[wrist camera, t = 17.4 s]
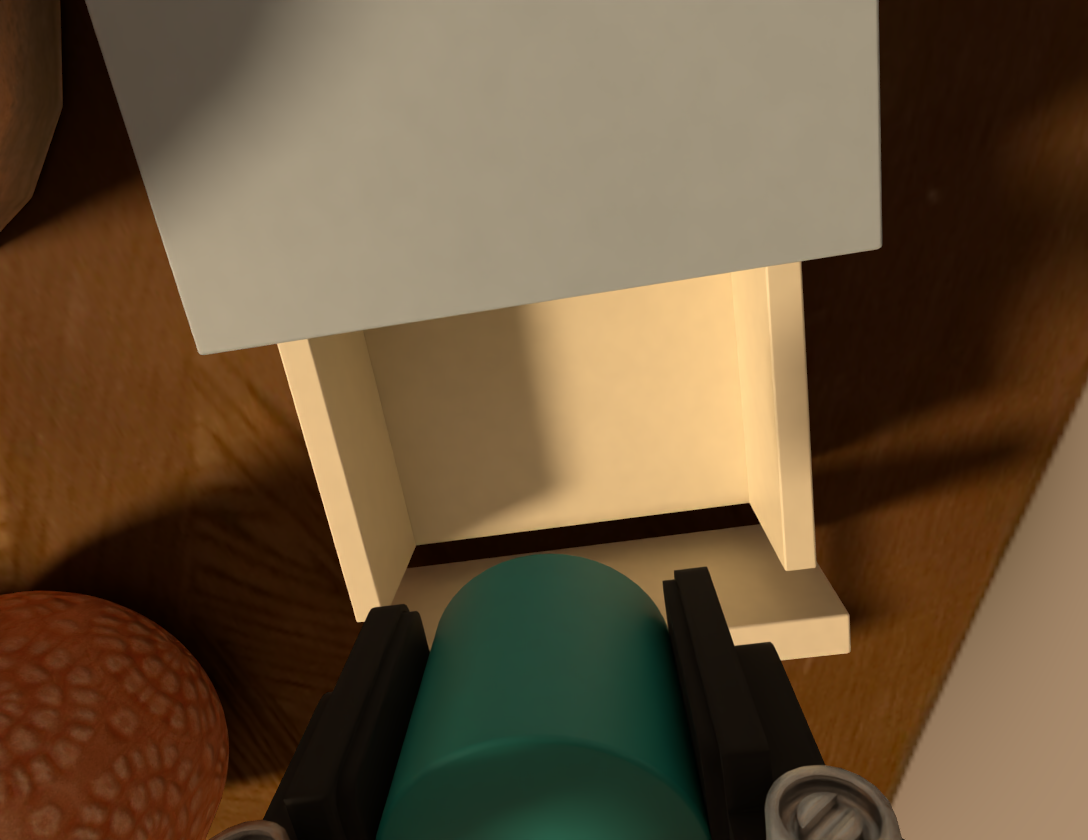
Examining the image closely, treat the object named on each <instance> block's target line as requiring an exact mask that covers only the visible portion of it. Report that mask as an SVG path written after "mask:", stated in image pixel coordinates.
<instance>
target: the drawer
mask: <svg viewBox="0 0 1088 840" xmlns="http://www.w3.org/2000/svg"><path fill="white" fill-rule="evenodd" d="M278 348H279V351H280V355H281V358H282V362H283V365H284V369H285V372H286V376H287V379H288V383H289V386H290V390H291V393H292V397H293V400H294V404H295V407H296V411H297V414H298V418H299V421H300V425H301V428H302V432H303V435H304V439H305V442H306V446H307V449H308V453H309V456H310V460H311V463H312V467H313V470H314V474H315V477H316V481H317V484H318V488H319V491H320V495H321V498H322V502H323V505H324V509H325V512H326V516H327V519H328V523H329V526H330V530H331V533H332V537H333V540H334V544H335V547H336V551H337V554H338V558H339V561H340V565H341V568H342V572H343V575H344V579H345V582H346V586H347V589H348V593H349V596H350V600H351V603H352V607H353V610H354V614H355V617H356V621H357V622H365V620H366V617H367V615H368V613H369V611H370V610H371V608H374V607H382V606H390V605H398V604H405V605H407V607H408V609H409V611H410V612H411V611H418V612H419V614H420V616H421V619H422V623H423V627H424V631H425V635H426V639H427V643H428V647H429V651H430V650H431V647H432V643H433V640H434V637H435V633H436V630H437V627H438V623H439V620H440V618H441V616H442V614H443V612H444V610H445V608H446V607H447V605H448V604H449V602H450V601H451V599H452V598H453V597H454V596H455V595H456V594H457V592H458V591H459V590H460V589H461V588H462V587H463V586H464V585H465V584H467V583H468V582H469V581H470V580H472V579H473V578H474V577H476V576H477V575H479V574H480V573H482V572H484V571H485V570H487V569H489V568H491V567H493V566H495V565H497V564H500V563H502V562H505V561H508V560H511V559H514V558H518V557H523V556H528V555H535V554H567V555H573V556H579V557H583V558H587V559H590V560H594V561H597V562H600V563H602V564H604V565H607V566H609V567H611V568H613V569H615V570H617V571H618V572H620V573H622V574H624V575H625V576H627V577H628V578H629V579H631V580H632V581H633V582H635V583H636V584H637V585H638V586H639V587H640V588H641V589H643V590H644V591H645V592H646V593H647V594H648V595H649V597H650V598H651V599H652V600H653V602H654V603H655V604H656V606H657V607H658V609H659V610H660V612H661V614H662V616H663V618H664V619H665V622H666V624H667V616H666V608H665V600H664V592H663V583H662V581H664V580H672V579H674V570H681V569H689V568H697V567H705V566H707V568H708V570H709V573H710V576H711V579H712V582H713V584H714V587H715V590H716V593H717V596H718V599H719V602H720V605H721V608H722V611H723V614H724V617H725V620H726V622H727V625H728V628H729V631H730V634H731V637H732V640H733V643H734V646H736V645H745V644H754V643H763V642H771V643H773V645H774V647H775V649H776V651H777V653H778V655H779V658H780V660H788V659H797V658H807V657H816V656H825V655H834V654H844V653H849V652H850V651H851V642H850V615H849V613H848V612H847V610H846V608H845V607H844V605H843V604H842V602H841V600H840V599H839V597H838V596H837V594H836V592H835V591H834V589H833V587H832V586H831V584H830V583H829V581H828V579H827V578H826V576H825V575H824V573H823V571H822V570H821V568H820V567H819V565H818V563H817V562H816V543H815V523H814V503H813V483H812V463H811V443H810V423H809V403H808V383H807V363H806V343H805V323H804V303H803V283H802V263H801V261H800V262H794V263H787V264H781V265H775V266H768V267H762V268H755V269H749V270H743V271H736V272H730V273H724V274H717V275H711V276H704V277H698V278H692V279H685V280H679V281H673V282H666V283H660V284H653V285H647V286H641V287H634V288H628V289H622V290H615V291H609V292H603V293H596V294H590V295H583V296H577V297H571V298H564V299H558V300H552V301H545V302H539V303H532V304H526V305H520V306H513V307H507V308H501V309H494V310H488V311H481V312H475V313H469V314H462V315H456V316H450V317H443V318H437V319H430V320H424V321H418V322H411V323H405V324H399V325H392V326H386V327H380V328H373V329H367V330H360V331H354V332H348V333H341V334H335V335H329V336H322V337H316V338H309V339H303V340H297V341H290V342H284V343H278ZM743 503H750V505H751V507H752V509H753V510H754V512H755V514H756V516H757V518H758V520H759V522H760V524H758V525H750V526H742V527H734V528H726V529H718V530H710V531H702V532H694V533H686V534H678V535H670V536H662V537H654V538H646V539H638V540H630V541H622V542H614V543H606V544H598V545H590V546H582V547H574V548H566V549H558V550H550V551H542V552H534V553H526V554H518V555H510V556H502V557H494V558H486V559H478V560H470V561H462V562H454V563H446V564H438V565H430V566H422V567H414V568H407V566H408V564H409V561H410V559H411V557H412V554H413V552H414V550H415V547H416V545H423V544H431V543H439V542H447V541H455V540H462V539H470V538H478V537H486V536H494V535H501V534H509V533H517V532H525V531H533V530H540V529H548V528H556V527H564V526H572V525H579V524H587V523H595V522H603V521H611V520H619V519H626V518H634V517H642V516H650V515H658V514H665V513H673V512H681V511H689V510H697V509H704V508H712V507H720V506H728V505H736V504H743ZM667 627H668V624H667Z"/></svg>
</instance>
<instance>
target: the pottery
mask: <svg viewBox="0 0 1088 840" xmlns="http://www.w3.org/2000/svg"><path fill="white" fill-rule="evenodd" d="M62 107H63V91H62V51H61V10H60V0H0V232H1V230H2V229H3V228H4V227H5V226H6V225H7V224H8V223H9V222H10V221H11V220H12V219H13V218H14V216H15V215H16V214H17V213H18V212H19V211H20V210H21V209H22V208H23V207H24V206H25V205H26V204H27V202H28V201H29V200H30V199H31V198H32V196H33V193H34V190H35V187H36V184H37V181H38V178H39V175H40V172H41V170H42V167H43V164H44V161H45V158H46V155H47V152H48V149H49V146H50V143H51V140H52V137H53V134H54V131H55V128H56V125H57V122H58V119H59V116H60V113H61V110H62Z"/></svg>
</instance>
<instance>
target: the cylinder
mask: <svg viewBox="0 0 1088 840" xmlns="http://www.w3.org/2000/svg"><path fill="white" fill-rule="evenodd" d="M376 840H711V833H710V827H709V822H708V818H707V813H706V808H705V803H704V799H703V794H702V789H701V784H700V780H699V775H698V770H697V765H696V761H695V756H694V751H693V746H692V741H691V737H690V732H689V727H688V722H687V718H686V713H685V708H684V703H683V699H682V694H681V689H680V684H679V680H678V675H677V670H676V665H675V660H674V656H673V651H672V646H671V641H670V637H669V631H668V627H667V624H666V622H665V619H664V618H663V616H662V614H661V612H660V610H659V609H658V607H657V606H656V604H655V603H654V602H653V600H652V599H651V598H650V597H649V595H648V594H647V593H646V592H645V591H644V590H643V589H641V588H640V587H639V586H638V585H637V584H636V583H635V582H633V581H632V580H631V579H629V578H628V577H627V576H625V575H624V574H622V573H620V572H618V571H617V570H615V569H613V568H611V567H609V566H607V565H604V564H602V563H600V562H597V561H594V560H590V559H587V558H583V557H579V556H573V555H567V554H535V555H528V556H523V557H518V558H514V559H511V560H508V561H505V562H502V563H500V564H497V565H495V566H493V567H491V568H489V569H487V570H485V571H484V572H482V573H480V574H479V575H477V576H476V577H474V578H473V579H472V580H470V581H469V582H468V583H467V584H465V585H464V586H463V587H462V588H461V589H460V590H459V591H458V592H457V594H456V595H455V596H454V597H453V598H452V599H451V601H450V602H449V604H448V605H447V607H446V608H445V610H444V612H443V614H442V616H441V618H440V620H439V623H438V627H437V630H436V633H435V637H434V640H433V643H432V647H431V650H430V654H429V657H428V660H427V664H426V667H425V671H424V674H423V678H422V681H421V684H420V688H419V691H418V695H417V698H416V701H415V705H414V708H413V712H412V715H411V718H410V722H409V725H408V729H407V732H406V736H405V739H404V742H403V746H402V749H401V753H400V756H399V759H398V763H397V766H396V770H395V773H394V776H393V780H392V783H391V787H390V790H389V794H388V797H387V800H386V804H385V807H384V811H383V814H382V817H381V821H380V824H379V828H378V831H377V835H376Z"/></svg>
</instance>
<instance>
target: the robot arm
mask: <svg viewBox="0 0 1088 840" xmlns="http://www.w3.org/2000/svg"><path fill="white" fill-rule="evenodd" d="M662 583H663V592H664V600H665V608H666V616H667V624H668V631H669V637H670V641H671V646H672V651H673V656H674V660H675V665H676V670H677V675H678V680H679V684H680V689H681V694H682V699H683V703H684V708H685V713H686V718H687V722H688V727H689V732H690V737H691V741H692V746H693V751H694V756H695V761H696V765H697V770H698V775H699V780H700V784H701V789H702V794H703V799H704V803H705V808H706V813H707V818H708V822H709V827H710V833H711V840H904V839H902V837H901V833H900V829H899V825H898V821H897V818H896V815H895V813H894V811H893V809H892V807H891V804H890V802H889V801H888V800H887V798H886V797H885V796H884V795H883V794H882V793H881V792H880V791H879V789H878V788H877V787H876V786H874V785H873V784H871V783H870V782H868V781H867V780H865V779H864V778H862V777H861V776H860V775H857V774H854V773H852V772H849V771H847V770H844V769H842V768H837V767H831V766H825V764H824V761H823V759H822V756H821V754H820V752H819V749H818V747H817V745H816V742H815V740H814V738H813V735H812V733H811V731H810V728H809V726H808V724H807V721H806V719H805V717H804V714H803V712H802V709H801V707H800V705H799V702H798V700H797V698H796V695H795V693H794V691H793V688H792V686H791V684H790V681H789V679H788V677H787V674H786V672H785V670H784V667H783V665H782V663H781V660H780V658H779V655H778V653H777V651H776V649H775V647H774V645H773V643H771V642H763V643H754V644H745V645H736V646H734V643H733V640H732V637H731V634H730V631H729V628H728V625H727V622H726V620H725V617H724V614H723V611H722V608H721V605H720V602H719V599H718V596H717V593H716V590H715V587H714V584H713V582H712V579H711V576H710V573H709V570H708V568H707V566H705V567H697V568H689V569H681V570H674V579H672V580H664V581H662ZM429 654H430V651H429V647H428V643H427V639H426V635H425V631H424V627H423V623H422V619H421V616H420V614H419V612H418V611H411V612H410V611H409V609H408V607H407V605H405V604H398V605H390V606H382V607H374V608H371V610H370V611H369V613H368V615H367V617H366V620H365V622H364V624H363V626H362V628H361V631H360V633H359V635H358V637H357V639H356V642H355V644H354V646H353V648H352V650H351V652H350V655H349V657H348V659H347V661H346V663H345V666H344V668H343V670H342V672H341V674H340V677H339V679H338V681H337V683H336V685H335V687H334V690H333V691H332V692H327V693H326V694H324V695H323V696H322V698H321V699H320V701H319V702H318V705H317V707H316V709H315V711H314V713H313V715H312V717H311V719H310V721H309V724H308V726H307V728H306V730H305V732H304V734H303V736H302V738H301V740H300V743H299V745H298V747H297V749H296V751H295V753H294V755H293V757H292V759H291V761H290V764H289V766H288V768H287V770H286V772H285V774H284V776H283V778H282V780H281V783H280V785H279V787H278V789H277V791H276V793H275V795H274V797H273V799H272V802H271V804H270V806H269V808H268V810H267V812H266V814H265V816H264V818H263V820H256V821H248V822H244V823H241V824H238V825H235V826H233V827H230V828H227V829H226V830H224V831H222V832H221V833H219V834H217V835H215V836H214V837H212V838H210V839H209V840H376V835H377V831H378V828H379V824H380V821H381V817H382V814H383V811H384V807H385V804H386V800H387V797H388V794H389V790H390V787H391V783H392V780H393V776H394V773H395V770H396V766H397V763H398V759H399V756H400V753H401V749H402V746H403V742H404V739H405V736H406V732H407V729H408V725H409V722H410V718H411V715H412V712H413V708H414V705H415V701H416V698H417V695H418V691H419V688H420V684H421V681H422V678H423V674H424V671H425V667H426V664H427V660H428V657H429Z"/></svg>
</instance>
